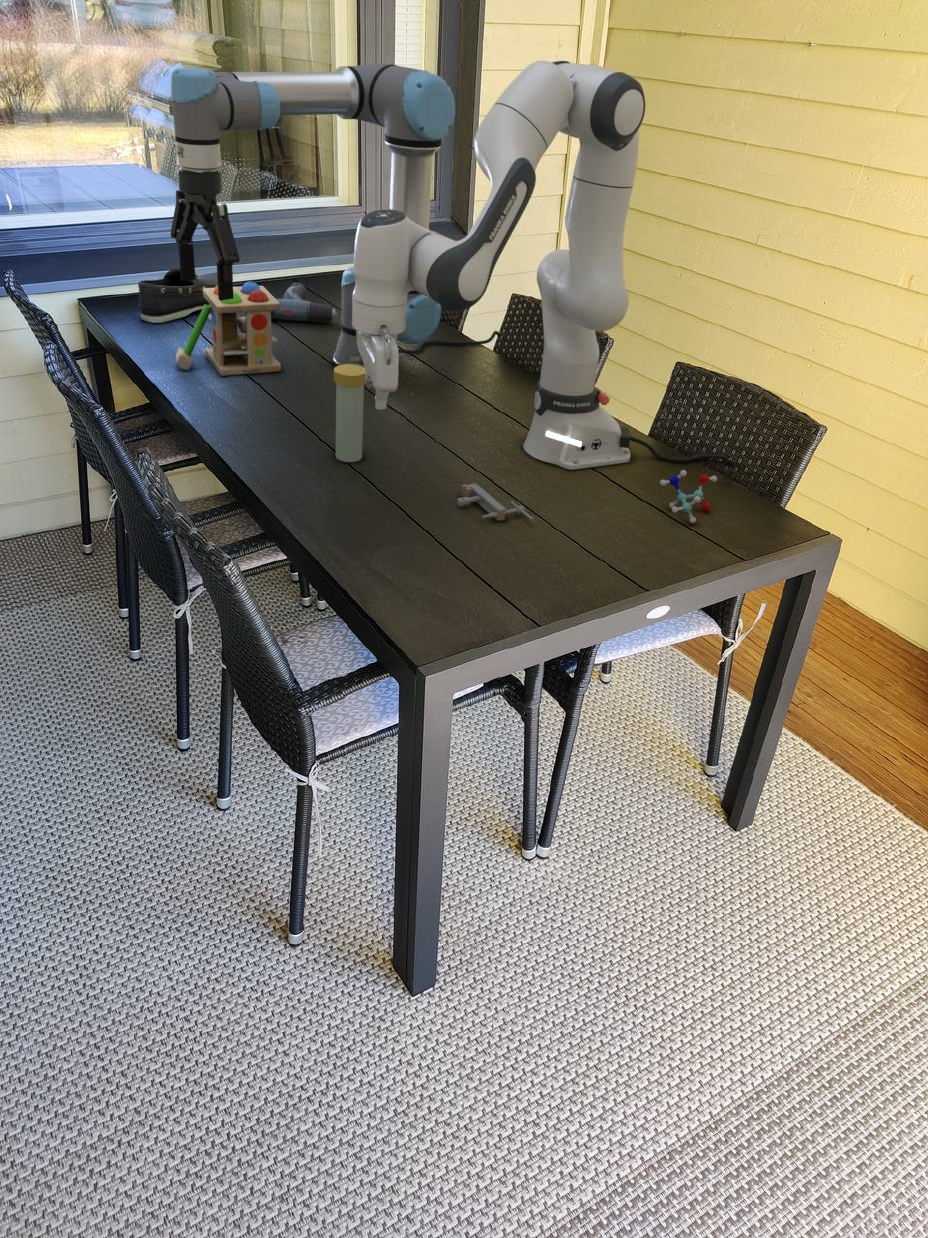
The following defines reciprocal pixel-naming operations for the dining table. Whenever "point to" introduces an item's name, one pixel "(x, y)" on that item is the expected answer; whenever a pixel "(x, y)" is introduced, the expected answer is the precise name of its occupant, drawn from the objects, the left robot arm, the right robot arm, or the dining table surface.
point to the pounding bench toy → (229, 347)
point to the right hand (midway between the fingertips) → (375, 397)
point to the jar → (349, 423)
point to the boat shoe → (173, 296)
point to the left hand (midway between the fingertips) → (206, 289)
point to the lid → (349, 375)
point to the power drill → (301, 307)
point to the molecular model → (683, 497)
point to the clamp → (488, 503)
